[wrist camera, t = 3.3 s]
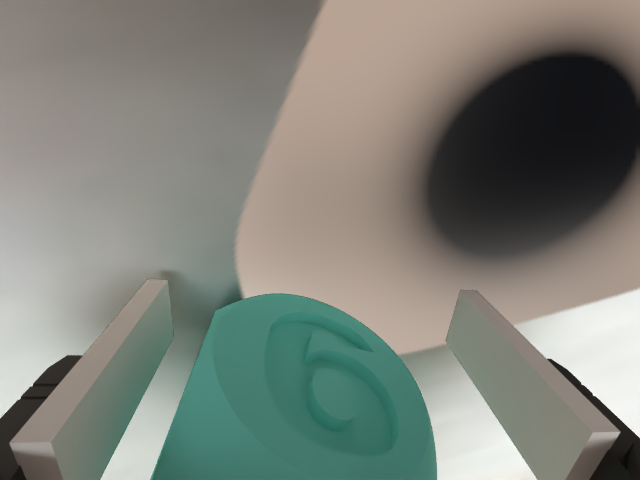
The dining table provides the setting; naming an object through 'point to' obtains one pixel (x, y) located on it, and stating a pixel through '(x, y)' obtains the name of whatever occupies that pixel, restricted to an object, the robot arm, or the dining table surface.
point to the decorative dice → (297, 401)
